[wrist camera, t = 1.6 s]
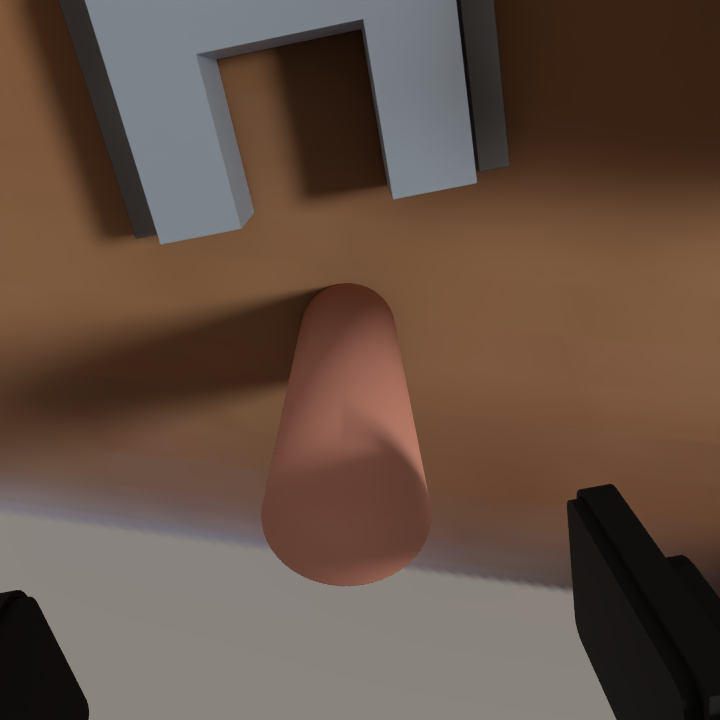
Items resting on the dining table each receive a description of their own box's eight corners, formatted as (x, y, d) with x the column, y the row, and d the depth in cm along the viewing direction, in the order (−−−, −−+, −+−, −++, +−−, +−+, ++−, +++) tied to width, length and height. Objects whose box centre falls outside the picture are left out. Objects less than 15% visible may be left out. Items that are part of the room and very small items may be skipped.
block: (427, -99, 19) (441, -131, 17) (461, 172, 22) (477, 183, 20) (108, -29, 20) (70, -49, 17) (183, 226, 23) (160, 244, 20)
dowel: (385, 275, 24) (417, 432, 13) (401, 362, 25) (441, 572, 14) (291, 292, 24) (242, 461, 13) (312, 378, 25) (283, 597, 14)
